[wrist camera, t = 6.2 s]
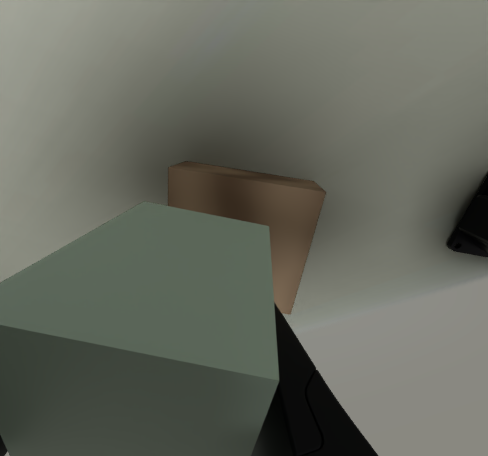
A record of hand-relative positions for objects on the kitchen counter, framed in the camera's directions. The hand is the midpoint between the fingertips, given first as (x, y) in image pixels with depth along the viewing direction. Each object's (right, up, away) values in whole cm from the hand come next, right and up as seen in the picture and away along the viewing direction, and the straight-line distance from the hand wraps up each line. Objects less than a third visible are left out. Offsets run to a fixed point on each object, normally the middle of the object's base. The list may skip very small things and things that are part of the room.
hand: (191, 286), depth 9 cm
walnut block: (+2, +2, +11) cm, 11 cm away
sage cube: (0, +1, +1) cm, 1 cm away
